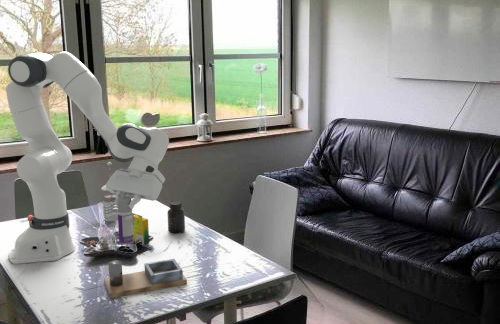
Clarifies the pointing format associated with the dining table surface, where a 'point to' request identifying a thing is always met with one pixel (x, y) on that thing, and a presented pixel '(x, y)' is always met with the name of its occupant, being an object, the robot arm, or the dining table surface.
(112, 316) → the dining table surface
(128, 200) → the container
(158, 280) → the wooden board
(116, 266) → the metal post
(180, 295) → the dining table surface
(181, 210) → the supplement bottle
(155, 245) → the dining table surface
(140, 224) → the crayon box
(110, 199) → the french press
